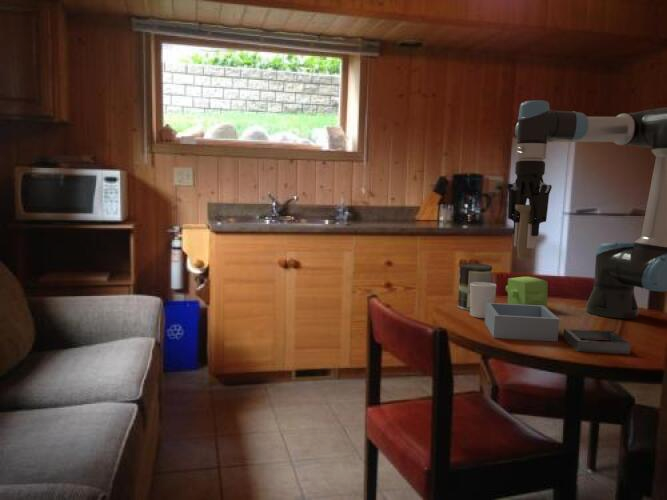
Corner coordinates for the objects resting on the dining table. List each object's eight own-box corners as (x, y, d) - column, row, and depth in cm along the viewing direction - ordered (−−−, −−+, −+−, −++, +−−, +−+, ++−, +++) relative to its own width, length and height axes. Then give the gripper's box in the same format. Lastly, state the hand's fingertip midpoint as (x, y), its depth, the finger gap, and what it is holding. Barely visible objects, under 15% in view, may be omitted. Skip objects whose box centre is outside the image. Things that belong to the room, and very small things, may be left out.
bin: (542, 325, 165) (543, 305, 164) (557, 341, 148) (559, 319, 148) (484, 322, 167) (485, 302, 166) (493, 337, 150) (494, 315, 150)
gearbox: (496, 302, 199) (496, 275, 197) (521, 300, 201) (521, 273, 200) (525, 313, 181) (526, 284, 180) (552, 310, 184) (553, 282, 182)
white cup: (491, 313, 179) (493, 282, 177) (496, 319, 171) (498, 286, 170) (466, 312, 179) (468, 281, 178) (470, 318, 172) (471, 285, 170)
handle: (539, 261, 154) (543, 205, 152) (519, 261, 152) (523, 205, 150) (527, 258, 158) (531, 204, 156) (508, 259, 156) (511, 204, 154)
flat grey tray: (611, 340, 151) (612, 331, 151) (629, 354, 139) (630, 344, 139) (563, 337, 152) (563, 328, 152) (577, 351, 140) (578, 341, 140)
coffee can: (451, 307, 185) (454, 265, 184) (466, 302, 193) (468, 262, 192) (481, 313, 179) (483, 269, 177) (494, 307, 187) (497, 265, 185)
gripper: (497, 160, 157) (492, 243, 160) (546, 159, 142) (539, 251, 145) (516, 161, 161) (511, 243, 164) (566, 160, 146) (559, 250, 149)
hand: (524, 246), depth 155 cm, fingers closed on handle, 4 cm apart
